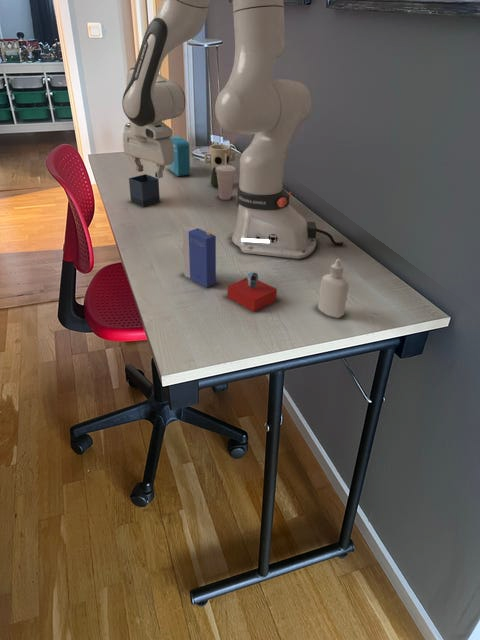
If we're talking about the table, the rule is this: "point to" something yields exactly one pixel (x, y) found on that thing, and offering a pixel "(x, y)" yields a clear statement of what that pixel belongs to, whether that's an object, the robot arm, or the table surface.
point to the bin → (144, 190)
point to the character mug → (218, 159)
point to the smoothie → (225, 179)
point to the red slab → (252, 292)
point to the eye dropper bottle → (333, 292)
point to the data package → (180, 157)
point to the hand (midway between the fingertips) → (149, 174)
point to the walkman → (200, 256)
